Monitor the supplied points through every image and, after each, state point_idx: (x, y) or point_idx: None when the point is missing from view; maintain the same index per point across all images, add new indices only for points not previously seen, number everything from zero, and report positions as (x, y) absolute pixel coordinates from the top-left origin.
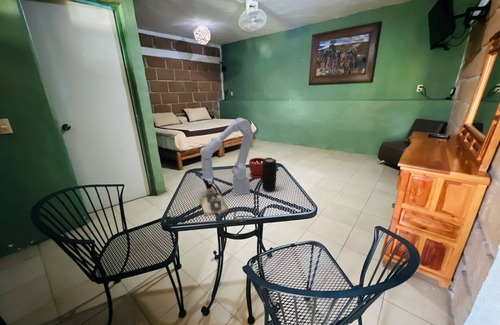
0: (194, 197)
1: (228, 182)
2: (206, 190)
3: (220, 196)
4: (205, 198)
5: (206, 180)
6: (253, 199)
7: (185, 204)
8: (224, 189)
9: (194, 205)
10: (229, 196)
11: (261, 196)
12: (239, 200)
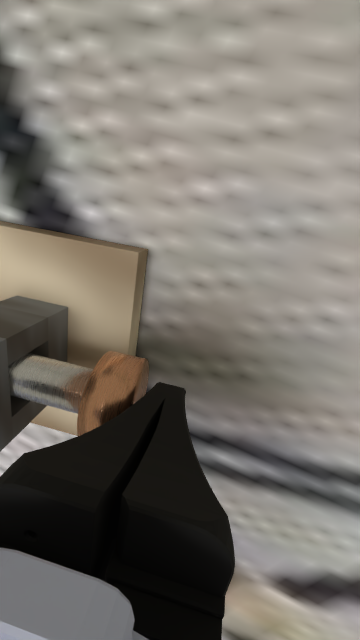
0: (271, 220)
1: (357, 602)
2: (117, 375)
3: None
4: (113, 307)
5: (47, 548)
6: None
7: (157, 57)
8: (244, 514)
9: (86, 163)
10: None
11: None
12: None
